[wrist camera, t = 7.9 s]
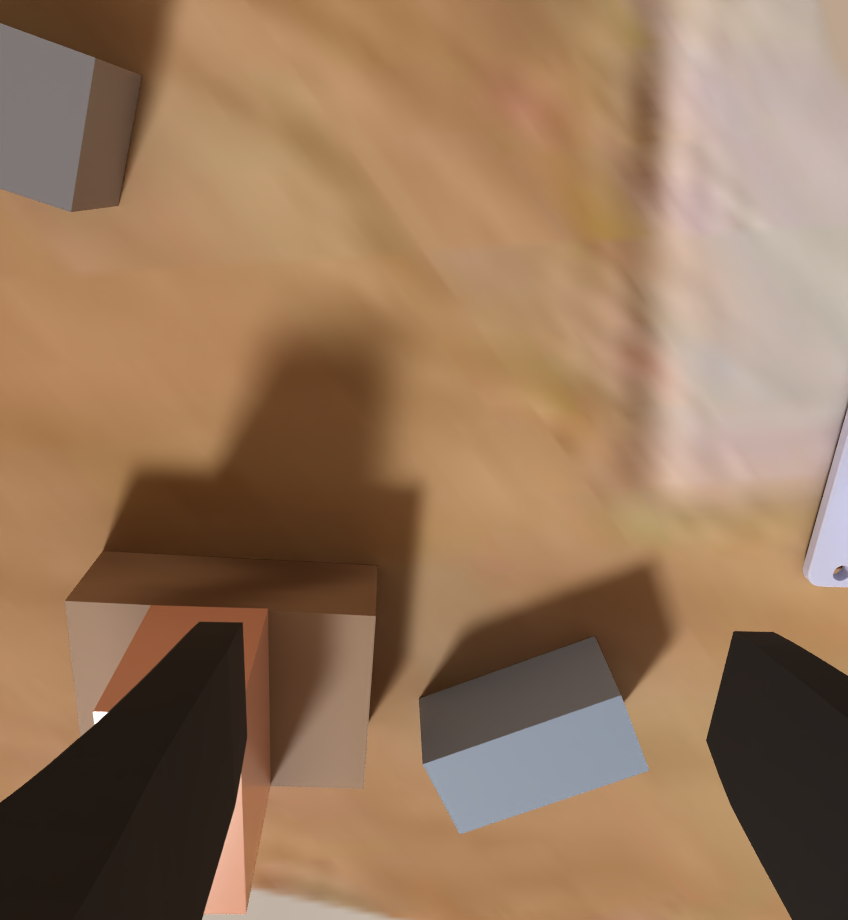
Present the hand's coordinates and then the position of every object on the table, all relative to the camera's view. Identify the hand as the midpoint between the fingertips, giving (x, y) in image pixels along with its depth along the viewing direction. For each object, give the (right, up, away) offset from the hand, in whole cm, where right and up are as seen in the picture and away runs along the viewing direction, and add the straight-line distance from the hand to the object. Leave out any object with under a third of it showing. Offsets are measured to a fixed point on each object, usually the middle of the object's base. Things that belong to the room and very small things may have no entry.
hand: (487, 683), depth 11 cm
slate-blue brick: (+2, -5, +13) cm, 14 cm away
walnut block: (-7, -2, +12) cm, 14 cm away
